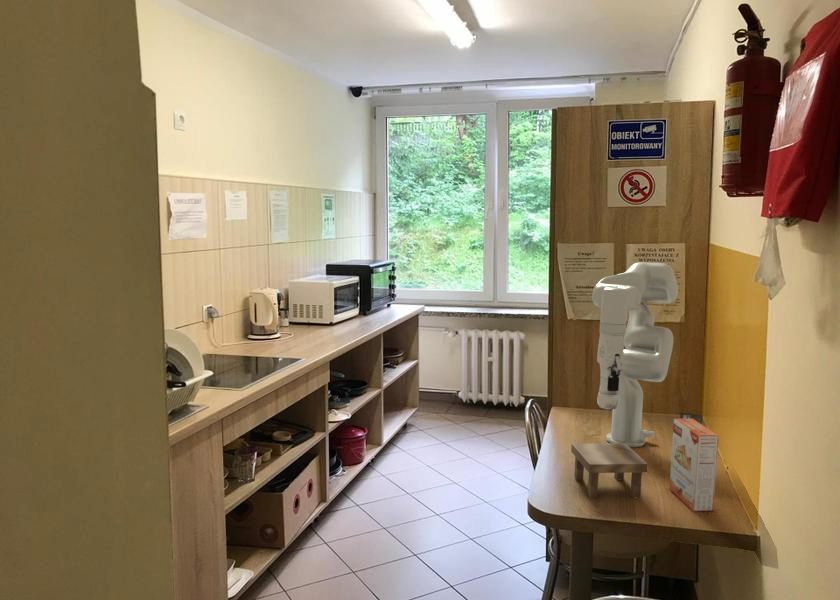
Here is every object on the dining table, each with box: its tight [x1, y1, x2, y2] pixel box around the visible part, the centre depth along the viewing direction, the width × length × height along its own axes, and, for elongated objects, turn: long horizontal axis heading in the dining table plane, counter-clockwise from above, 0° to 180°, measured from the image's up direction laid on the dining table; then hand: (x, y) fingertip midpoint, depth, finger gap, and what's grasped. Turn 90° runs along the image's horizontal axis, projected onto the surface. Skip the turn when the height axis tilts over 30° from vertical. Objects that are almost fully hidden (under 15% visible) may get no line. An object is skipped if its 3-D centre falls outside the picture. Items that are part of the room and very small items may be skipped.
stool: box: [570, 442, 649, 499], centre depth 185 cm, size 16×16×10 cm
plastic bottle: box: [596, 357, 619, 410], centre depth 198 cm, size 6×7×20 cm
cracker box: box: [669, 418, 720, 512], centre depth 177 cm, size 14×6×21 cm, turn 4°
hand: (609, 387), depth 198 cm, fingers closed on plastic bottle, 5 cm apart
